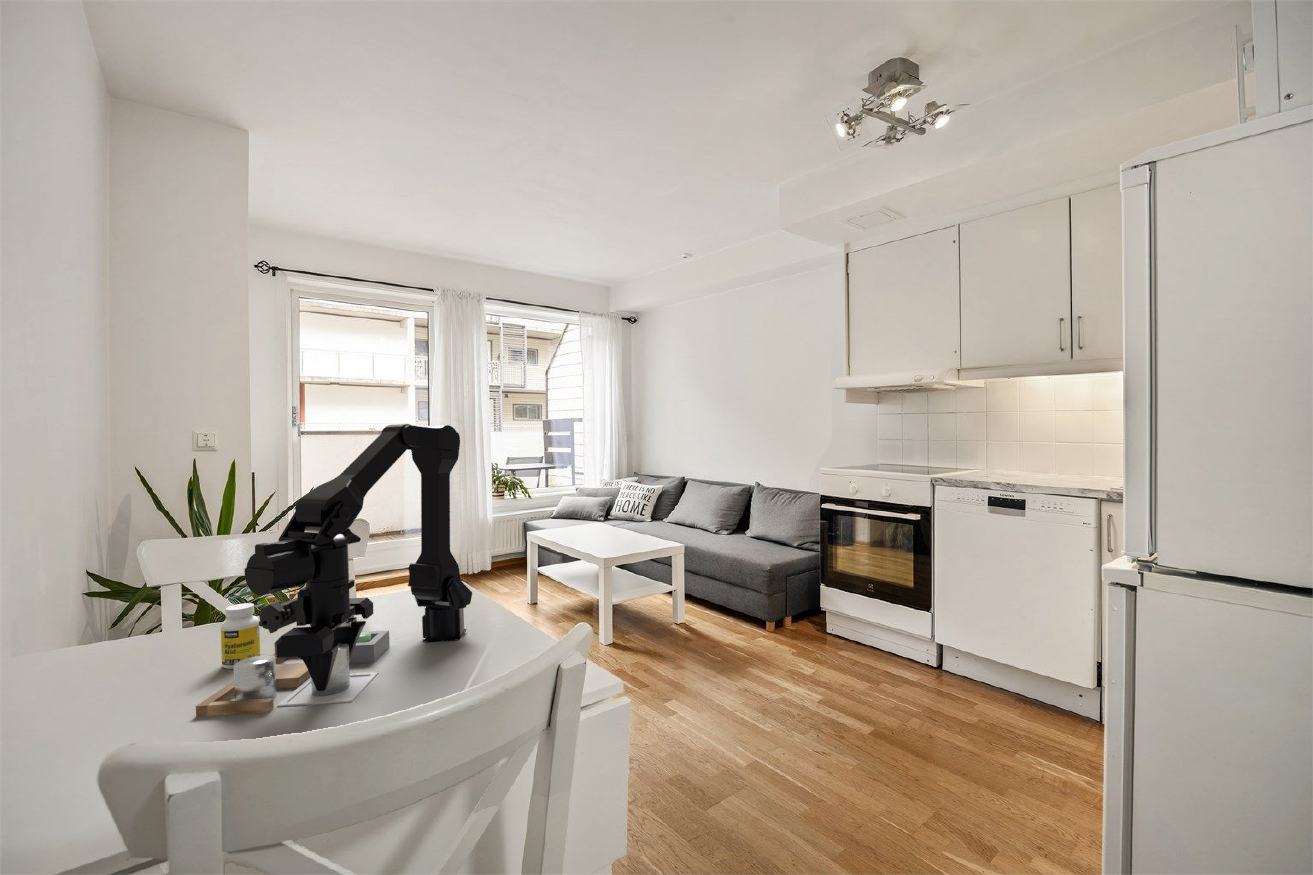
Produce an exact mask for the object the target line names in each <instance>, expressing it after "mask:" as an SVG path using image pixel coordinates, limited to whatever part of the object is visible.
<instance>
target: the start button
mask: <svg viewBox="0 0 1313 875" xmlns="http://www.w3.org/2000/svg"><path fill="white" fill-rule="evenodd" d="M369 641H371V633H370V632H368V631H362V632H361V634H360V636H359V638H358V640H357V643H362V642H369Z"/></svg>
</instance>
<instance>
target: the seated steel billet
mask: <svg viewBox="0 0 1313 875" xmlns="http://www.w3.org/2000/svg"><path fill="white" fill-rule="evenodd" d="M271 655H272V654H271ZM271 655H270V654H266V655H265V654H263V655H262V654H261V655H260V656H255V657H251V658H247V659H244V660H241V661H239V662H237V663H236V664H234V669H233V681H234V694H235V697H234V701H238V700H254V699H270V698H273V700H274V699H275V698H276V697H277V688H276V662H275V656H271Z"/></svg>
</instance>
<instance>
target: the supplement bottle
mask: <svg viewBox="0 0 1313 875" xmlns="http://www.w3.org/2000/svg"><path fill="white" fill-rule="evenodd" d="M254 613H255V604H254V603H251V602H246V603H245V602H244V603H238V604H233V605H229V606H227V607H226V608H225V615H224V616H225V618H226V620H224V621H223V622H222V623H221V625H220V642H221V644H220V645H221V648H220V649H221V651H220V652H221V653H220V654H221V666H222V668H224V669H227V670H234V664H236V663H237V662H239V661H241V660H244V659H247V658H251V657H255V656H261V635H260V634H261V633H260V632H261V631H260V630H261V629H260V628H261V626H259V621H260V618H259V616H258V617H257V616H256V615H254Z"/></svg>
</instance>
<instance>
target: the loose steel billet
mask: <svg viewBox="0 0 1313 875" xmlns="http://www.w3.org/2000/svg"><path fill="white" fill-rule="evenodd" d="M350 674H351V673H350V664H349V645H348V644H346V643H340V645H339V648H338V652H337V655H336V658H335V662H334V665H333V669H332V672H331V675H330V679H329V682H328V685H327V688H326V690H324V691H317V690H316V687H315V685H314V683H313V680H312V678H311V685H312V694H313V695H314V696H329V695H334V694H337V693H340V692H343V691H345V690H346V689H348V688H349V686H350Z"/></svg>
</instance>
